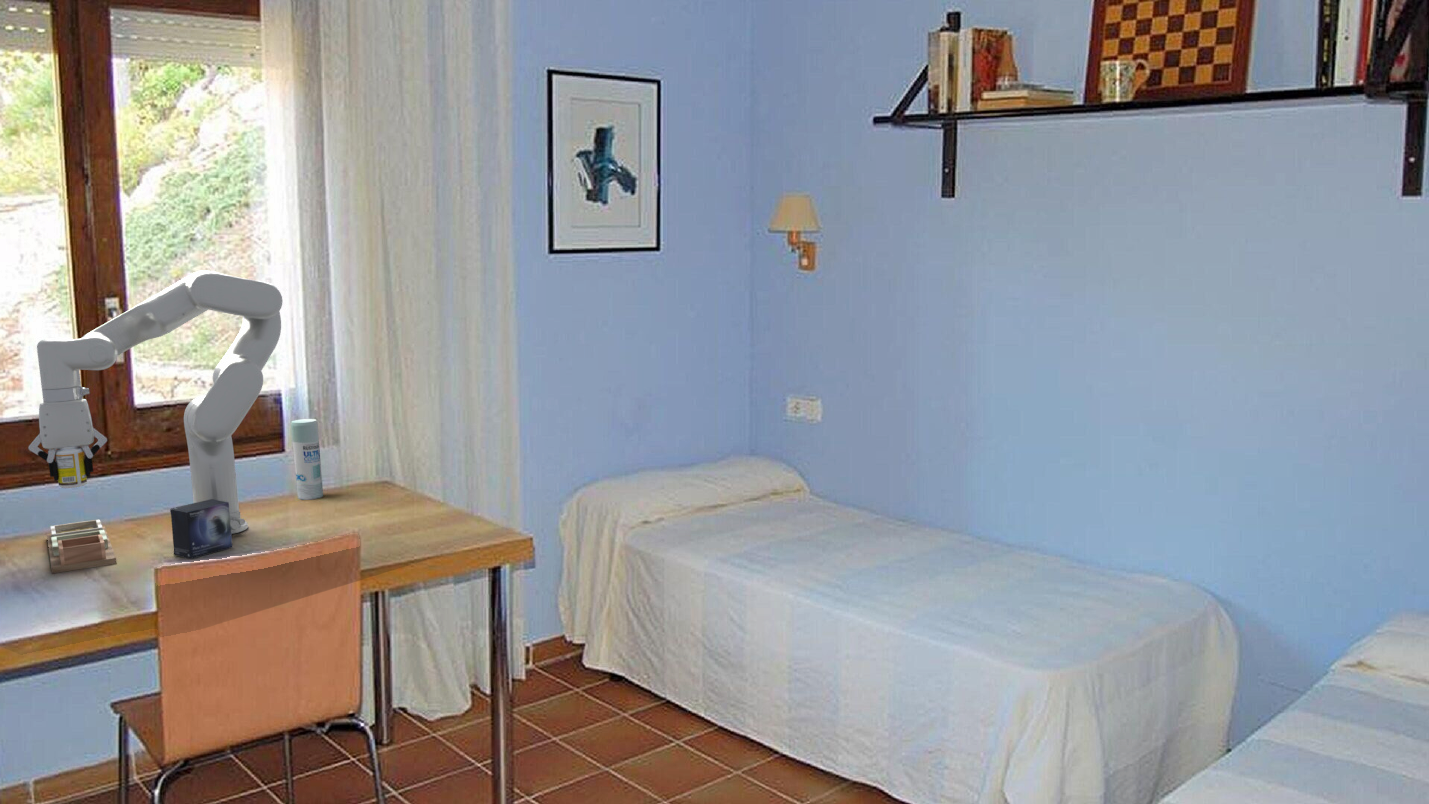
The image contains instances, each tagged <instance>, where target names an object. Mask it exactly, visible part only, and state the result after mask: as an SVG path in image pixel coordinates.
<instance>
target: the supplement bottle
mask: <svg viewBox="0 0 1429 804" xmlns="http://www.w3.org/2000/svg"><path fill="white" fill-rule="evenodd" d="M84 458H85V452H84V450H83V448H82V447H81V446H80V447H65V448H62V449H56V452H55V456H54V459H55V461H56V466H57V474H58V480H57V481H58V487H59V488H61V489H75V488H80V487H83V486H86V485H87V483H88V476H86V468H85V459H84Z"/></svg>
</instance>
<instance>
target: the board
mask: <svg viewBox="0 0 1429 804" xmlns="http://www.w3.org/2000/svg"><path fill="white" fill-rule="evenodd" d="M91 527H93V529H85V530H78V531H71V532H64V533H60V532H62V531H70V530H77V529H84V528H91ZM50 531H51V532H50V533H46V539H47V540H48V541H47V546H48V547H49V548H48V554H49V559H50V560H49V561H50V566H51V567H50V568H51V573H52V574H57V573H64V572H70V571H77V570H82V569H83V570H84V569H89V568H97V567H103V566H108V565H109V566H110V565H115V564H117V557H116V554H115V552H114V549H113V546H112V543H111V540H110V536H109V535H108V531H107V530H106V526H105V525H104V526H103V525H102V523H101V520H100V519H93V520H83V521H77V522H70V523H64V524H56V525H50Z"/></svg>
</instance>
